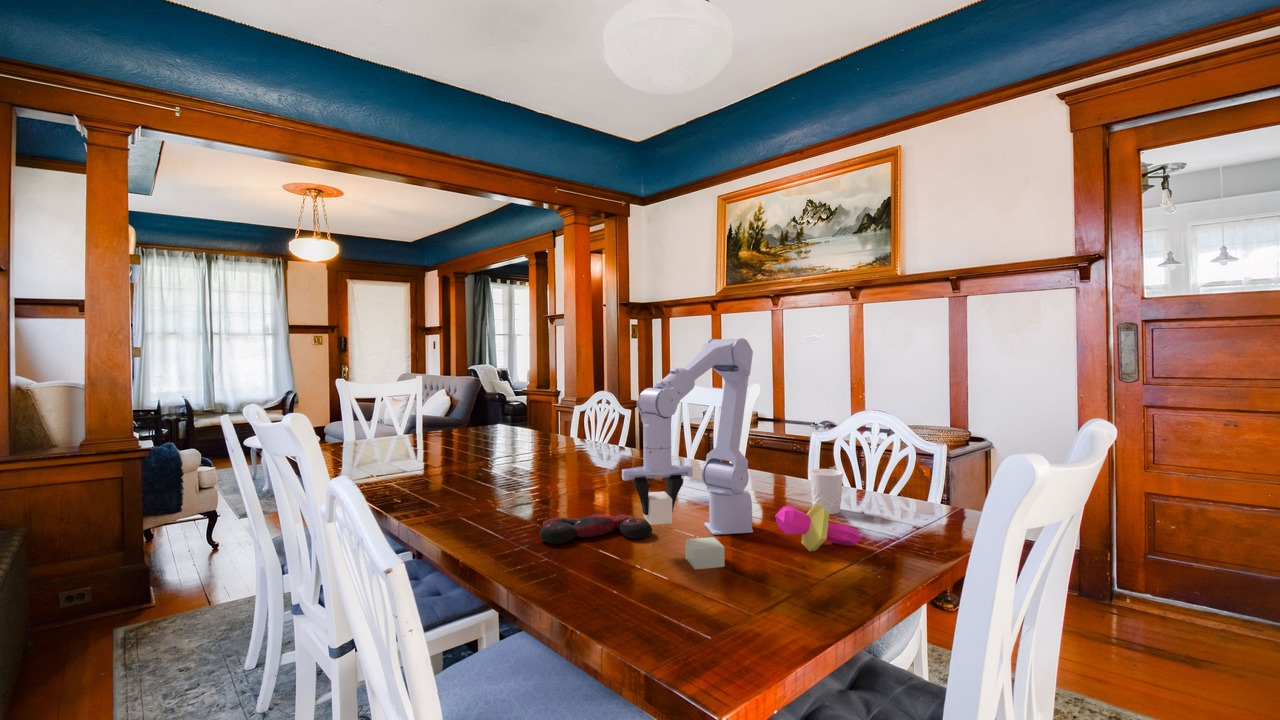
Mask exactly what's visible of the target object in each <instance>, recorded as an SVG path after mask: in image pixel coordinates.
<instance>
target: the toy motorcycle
mask: <svg viewBox="0 0 1280 720" xmlns="http://www.w3.org/2000/svg"><path fill="white" fill-rule="evenodd" d="M616 530H620V531H619V532H620V533H621V534H622V535H623V536H624V537H626V538H629V539H632V540H642V539H646V538H647V537H649V536H650V535H651V534H652V532H653V527H652V525H650V524H649V522H648V521H647V520H646V519H645V518H644V519H643V518H640V517H639V518H638V517H637V518H636V517H634V516H631V515H626V514H622V513H616V516H613V515H611V514H607V513H595V514H592V515H589V516H584V517H581V518H566V517H551V518H548V519H545V520H544V521H542V527H541V529H540V531H539V537H540V539H541V540H542V541H544V542H545V543H547V544H550V545H551V544H552V545H560V544H565V543H568V542H570V541H571V540H573V539H574V538H577V537H578V538H579V537H580V538H592V537H598V536H602V535H603V536H604V535H605V534H609V533H611V532H614V531H616Z"/></svg>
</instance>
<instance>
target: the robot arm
mask: <svg viewBox="0 0 1280 720" xmlns="http://www.w3.org/2000/svg"><path fill="white" fill-rule="evenodd" d="M753 355H754V351H753V349H752V347H751V345H750V343H749V342H748V340H747V339H745V338H736V339H735V338H734V339H733V338H731V339H730V338H729V339H727V338H725V339H721V338H720V339H717V338H710V339H708V340H707V341H706V342H705V343H703V344H702V347H701V350H700V352H698V353H697V355H695V357H693V359H691V360H690V362H689V363H687V364H686V366H685V367H684V368H683V367H673V368H671V369H670V370H669V373H668V374H667V375H666V376H665V377H663V378H662V379H661V380H658V381H657V382H656V383H655V385H654V386H653V387H647V388H645V389H644V390H643V391H641V393H640V394H639V396H638V400H637V401H636V407H637V411H638V413H639V414H640V421H641V423H642V428H643V429H642V433H643V434H642V435H643V436H642V438H643V439H642V440H643V441H642V443H643V451H642V452H643V466H637V467H632V468H623V469H621V478H622V480H623V481H625V482H626V481H631V480H632V483H633V485H634V487H635V489H636V492H637V494H638V496H639V497H638V498H639V500H640V504H641V509H642V513H643V516H644V515H648V510H649V507H648V492H650V491H649V490H650V484H649V482H648V480H647V479H659V478H664V479H665V487H666V488H665V489H666V493H667V494H668V495H669V496H670V497H671V498H672V514H673V513H674V508H675V503H676V500H677V498H678V494H679V492H680V490H681V488H682V486H683V485H684V479H683V477H693V474H694V471H693V469H694V468H693V466H691V465H689V464H688V465H685V464H684V465H679V464H678V465H672V416H674V415H675V413H676V411H677V409H678V406H679V403H680V402H681V400H683V398H685V397H686V395H689V393H690V392H691V391H693V390H694V388H695V385H696V380H697V379H698V378H700V377H701V376H702V375H704V374H705V373H706V372H707V371H709V370H710V369H712V370H714V371H715V372H716V373H717V374H718V375H720V376H721V378H722V379H723V380H724V386H723V395H722V401H721V406H720V407H721V408H720V414H719V415H720V416H719V422H718V423H719V424H718V430H717V437H716V438H717V439H716V445H715V447H714V448H713V449H712V450H710V451H709V452H708V453H707V454H706V456H705V457H706V459H705V462H704V465H703V466H702V469H701V480H702V483H703V484H704V485H705V486H706V490H708V491H709V492H708V494H709V497H708V498H709V499H708V501H709V502H708V503H709V504H708V505H709V507H708V509H709V510H708V511H709V514H708V515H709V517H708V518H709V519H708V521H706V522H704V523H703V525H704V526H705V527H706V528H707V530H708V531H709V532H710V533H711V534H712V535H714V536H715V535H719V536H720V535H732V534H734V535H735V534H749V533H750V534H751V533H754V530H753V502H752V501H753V500H752V496H751V494H750V492H749V490H745V489H747V486H748V484H749V478H750V477H749V469H748V464H749V460H748V459H747V458H746V457H745V455H744V454H743V453H742V452H741V451H740V446H741V438H742V432H743V431H742V430H743V422H744V417H745V408H746V400H747V392H748V386H749V385H748V384H749V377H750V375H751V370H752V361H753ZM725 461H726V462H725ZM727 461H728V462H727ZM730 462H731V463H730Z"/></svg>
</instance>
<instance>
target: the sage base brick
mask: <svg viewBox="0 0 1280 720" xmlns="http://www.w3.org/2000/svg"><path fill="white" fill-rule="evenodd" d="M685 559H686V561H687V562H688V563H689V565H690V566H691V567H692V569H694V570H703V569H714V568H715V569H716V568H724V567H725V546H724V545H723V544H722V543H721V542H720V541H719V540H718V539H717V538H716V537H715V536H713V537H711V536H709V537H700V538H698V537H697V538H686V539H685Z"/></svg>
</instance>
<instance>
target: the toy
mask: <svg viewBox="0 0 1280 720" xmlns="http://www.w3.org/2000/svg"><path fill="white" fill-rule="evenodd" d="M830 515H831V514H830V513H829V512H828V511H827V510H825V509H824V508H823V507H822V506H821V505H819V504H818V503H815V504H814V505H813V504H812V507H811V508H810V509H809V510H808V512H807V513H805V512H803V511H801V510H799V509H798V508H796V507H794V506H793V505H791V504H790V505H785V506H782V507H781V508H780V509H779V510H778V512H777V513H776V514H775V515H774V517H775V520H776V525H777V526H778V528H779V529H780V530H781V531H782V532H783V533H784V534H785V535H801V544H802V545H803V546H804V548H806V550H808V552H817V550H818V549H819V548H820V547H821V546H822V545H823V543H824V542H825V541H827V542H829V543H832V544H837V545H843V546H854V545H857V544H858V543H859V542H860V541H861V540H862V538H863V537H862V536H861V534H860V532H859V531H858V530H857V529H856V528H854V527H851V526H850V525H846V524H839V523H832V522H829V521H830Z"/></svg>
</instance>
